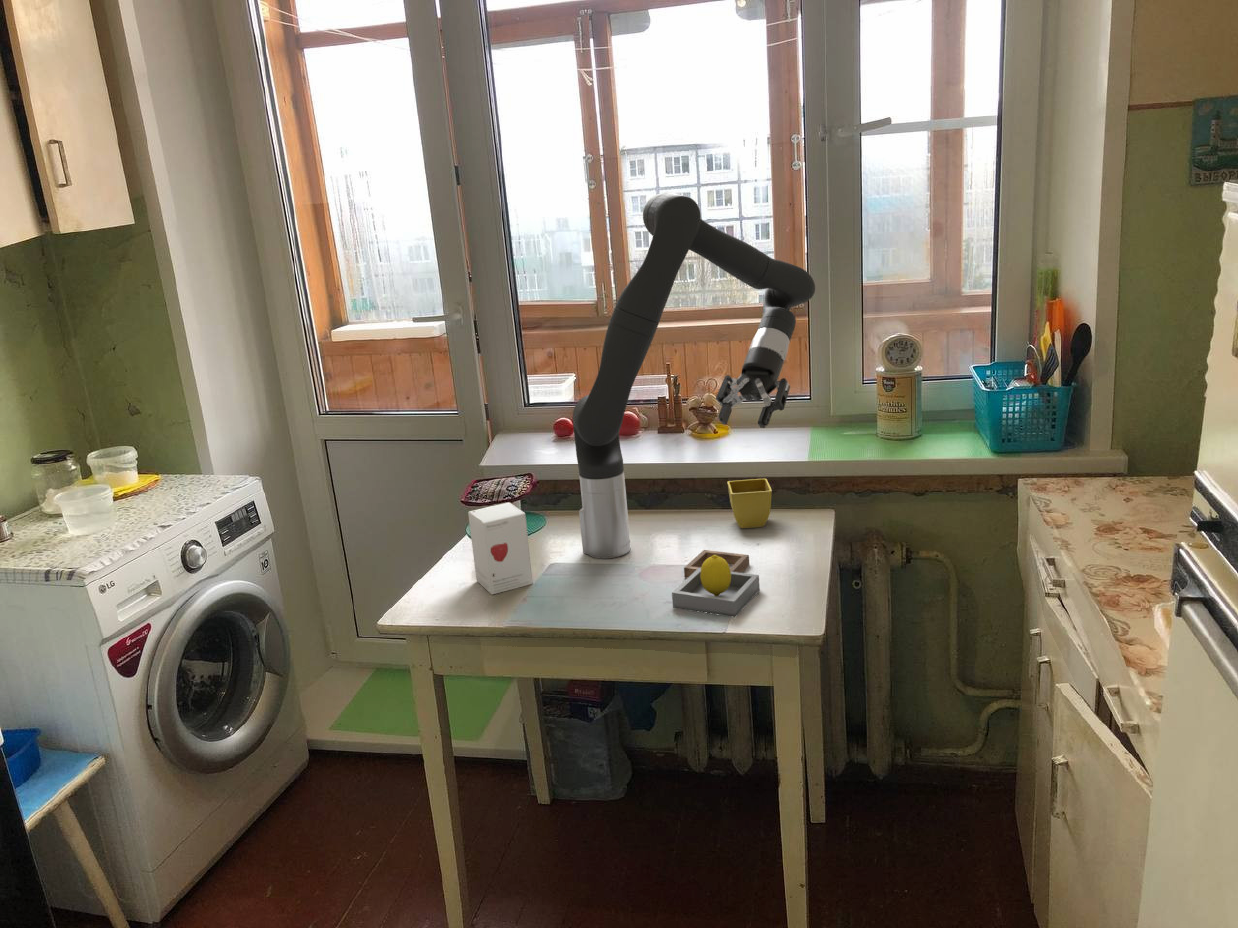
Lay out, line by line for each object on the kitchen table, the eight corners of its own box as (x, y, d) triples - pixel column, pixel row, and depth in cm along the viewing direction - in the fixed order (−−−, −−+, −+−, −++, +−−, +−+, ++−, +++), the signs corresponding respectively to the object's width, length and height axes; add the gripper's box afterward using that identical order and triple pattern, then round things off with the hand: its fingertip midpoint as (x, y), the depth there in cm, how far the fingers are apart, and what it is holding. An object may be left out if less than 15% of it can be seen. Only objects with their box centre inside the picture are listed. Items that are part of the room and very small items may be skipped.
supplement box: (491, 596, 185) (481, 523, 181) (475, 581, 193) (466, 511, 189) (534, 584, 189) (526, 512, 185) (517, 570, 197) (509, 500, 193)
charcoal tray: (673, 607, 173) (671, 592, 172) (700, 582, 183) (699, 567, 182) (735, 617, 168) (734, 601, 167) (759, 590, 178) (758, 575, 177)
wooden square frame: (684, 577, 186) (683, 567, 186) (704, 559, 194) (703, 549, 193) (730, 583, 181) (730, 573, 181) (749, 564, 189) (748, 554, 189)
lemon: (730, 602, 172) (728, 561, 170) (699, 602, 173) (697, 560, 171) (733, 589, 177) (731, 549, 175) (703, 589, 179) (701, 549, 176)
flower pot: (773, 530, 206) (772, 490, 204) (733, 533, 207) (731, 493, 204) (768, 516, 215) (766, 478, 212) (729, 519, 215) (727, 481, 213)
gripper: (728, 344, 196) (702, 411, 190) (792, 346, 188) (767, 417, 182) (742, 364, 202) (717, 431, 196) (804, 367, 193) (781, 437, 188)
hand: (741, 424), depth 189 cm, fingers open, 8 cm apart
